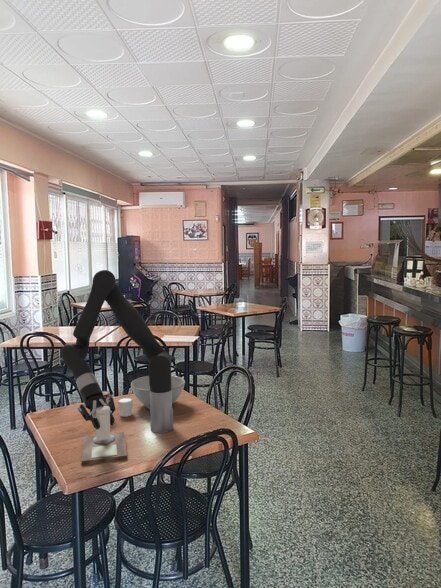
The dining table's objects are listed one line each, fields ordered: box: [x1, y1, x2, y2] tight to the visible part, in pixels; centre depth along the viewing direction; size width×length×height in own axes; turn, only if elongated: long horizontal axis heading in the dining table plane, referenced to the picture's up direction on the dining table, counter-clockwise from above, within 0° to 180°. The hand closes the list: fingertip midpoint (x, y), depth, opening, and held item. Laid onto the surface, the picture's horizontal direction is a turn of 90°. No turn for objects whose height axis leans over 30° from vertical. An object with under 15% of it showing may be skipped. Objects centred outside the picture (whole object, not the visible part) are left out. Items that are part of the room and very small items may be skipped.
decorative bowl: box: [130, 374, 186, 410], centre depth 213 cm, size 27×27×12 cm
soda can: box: [102, 390, 112, 407], centre depth 196 cm, size 7×7×12 cm
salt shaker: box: [95, 406, 111, 440], centre depth 158 cm, size 5×5×11 cm
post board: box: [80, 431, 128, 466], centre depth 164 cm, size 16×22×9 cm
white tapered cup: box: [117, 397, 134, 418], centre depth 201 cm, size 7×7×7 cm
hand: (105, 425), depth 157 cm, fingers closed on salt shaker, 5 cm apart
